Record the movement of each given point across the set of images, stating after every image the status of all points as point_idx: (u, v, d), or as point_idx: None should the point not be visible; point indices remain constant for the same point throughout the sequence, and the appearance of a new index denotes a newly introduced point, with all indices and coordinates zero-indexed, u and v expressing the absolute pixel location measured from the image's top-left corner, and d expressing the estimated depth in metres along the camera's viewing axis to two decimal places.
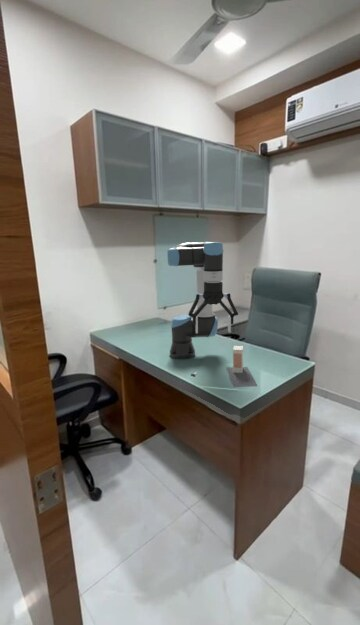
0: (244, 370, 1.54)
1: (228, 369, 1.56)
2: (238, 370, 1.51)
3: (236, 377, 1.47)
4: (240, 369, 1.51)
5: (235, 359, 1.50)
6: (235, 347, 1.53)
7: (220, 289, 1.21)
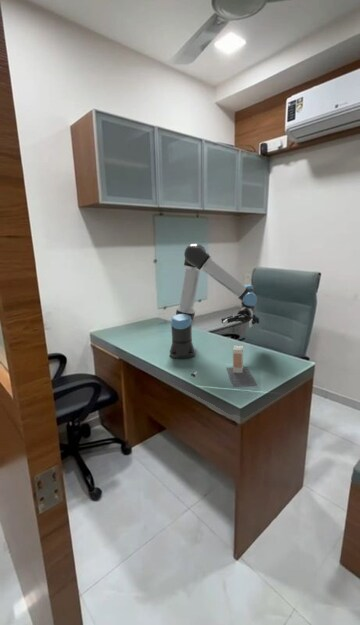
0: (244, 370, 1.54)
1: (228, 369, 1.56)
2: (238, 370, 1.51)
3: (236, 377, 1.47)
4: (240, 369, 1.51)
5: (235, 359, 1.50)
6: (235, 347, 1.53)
7: None
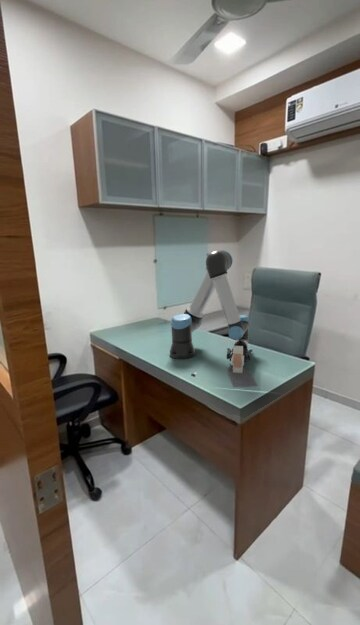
0: (244, 370, 1.54)
1: (228, 369, 1.56)
2: (238, 370, 1.51)
3: (236, 377, 1.47)
4: (240, 369, 1.51)
5: (235, 359, 1.50)
6: (235, 347, 1.53)
7: None
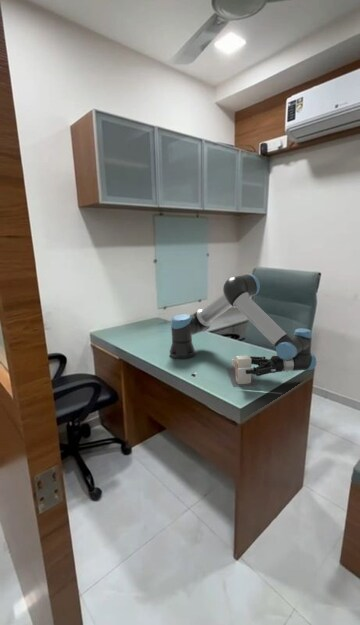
0: None
1: (228, 369, 1.56)
2: (237, 379, 1.41)
3: None
4: (237, 379, 1.40)
5: (235, 367, 1.41)
6: (243, 356, 1.41)
7: None
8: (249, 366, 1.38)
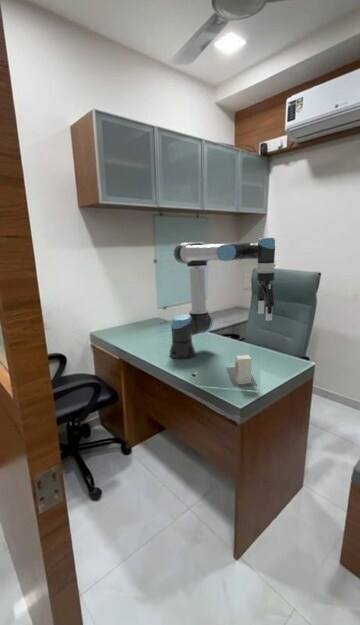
0: None
1: (228, 369, 1.56)
2: (237, 379, 1.41)
3: None
4: (237, 379, 1.40)
5: (235, 367, 1.41)
6: (243, 356, 1.41)
7: None
8: (249, 366, 1.38)
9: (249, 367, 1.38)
